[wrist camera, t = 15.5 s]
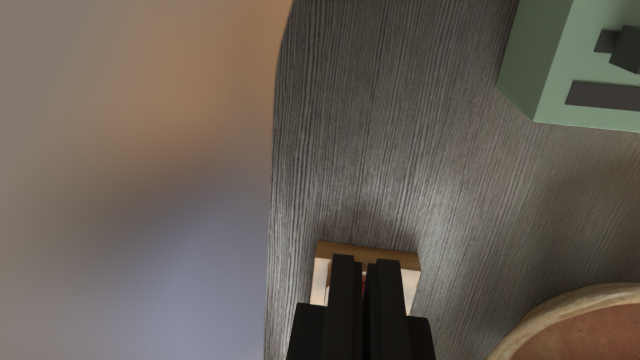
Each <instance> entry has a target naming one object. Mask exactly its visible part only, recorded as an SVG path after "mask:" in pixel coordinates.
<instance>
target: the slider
mask: <svg viewBox="0 0 640 360" xmlns="http://www.w3.org/2000/svg"><path fill="white" fill-rule="evenodd" d="M608 63H610V64H612V65H614V66H617V67H619V68H622V69H624V70H626V71H629V72H631V73H634V74H637V75H640V26H632V25H623V27H622V29H621V32H620V34H619V37H618V39H617V42H616V44H615V47H614V49H613V52H612V54H611V57H610V59H609V62H608Z"/></svg>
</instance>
